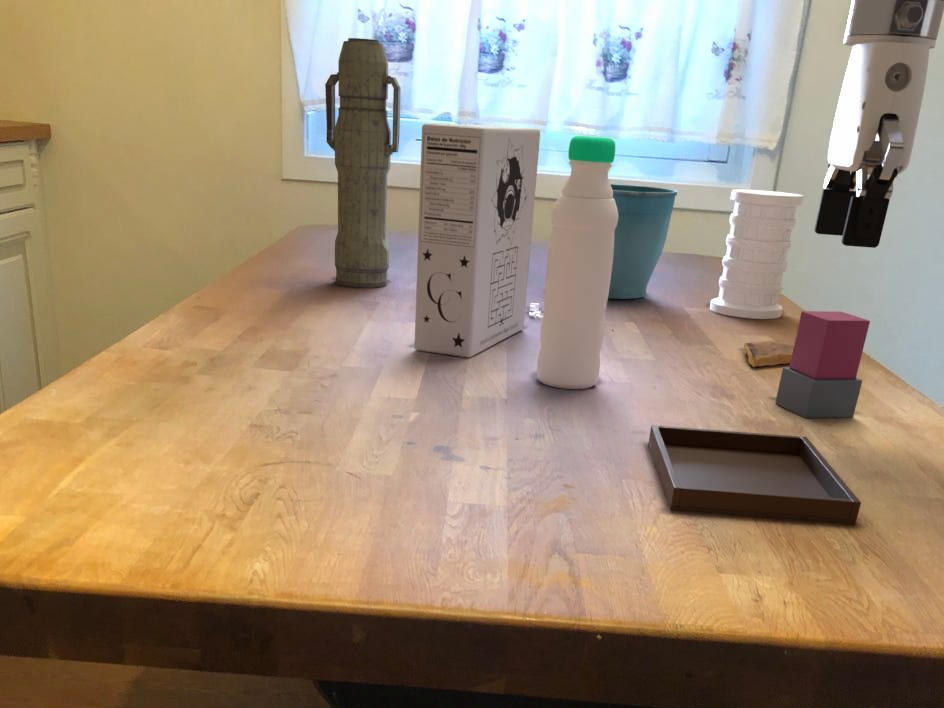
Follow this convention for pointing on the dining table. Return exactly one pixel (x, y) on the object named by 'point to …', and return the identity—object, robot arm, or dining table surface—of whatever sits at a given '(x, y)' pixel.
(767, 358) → the tan flat slab
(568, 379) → the water bottle
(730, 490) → the tray
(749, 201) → the decorative container
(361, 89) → the thermos
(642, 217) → the flower pot
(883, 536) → the dining table surface
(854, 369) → the mulberry block
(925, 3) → the robot arm
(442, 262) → the cereal box
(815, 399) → the base block
